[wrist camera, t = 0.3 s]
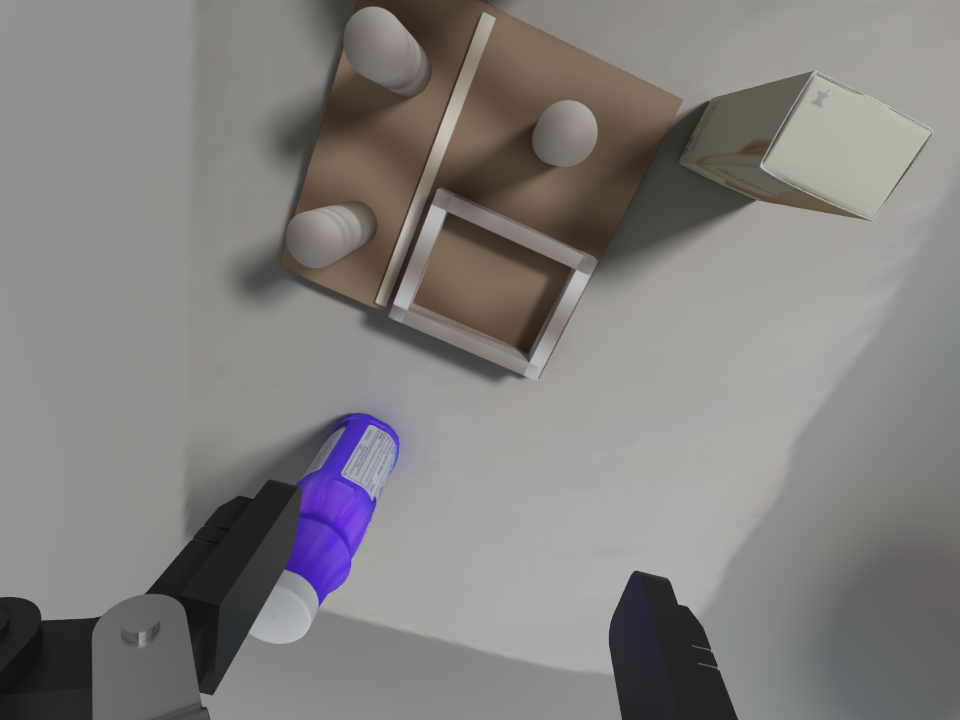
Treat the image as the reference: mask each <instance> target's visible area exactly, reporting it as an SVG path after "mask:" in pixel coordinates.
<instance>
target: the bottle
mask: <svg viewBox="0 0 960 720" xmlns="http://www.w3.org/2000/svg"><path fill="white" fill-rule="evenodd" d="M398 453H399V438H398V436H397V434H396V433H395V431H394V430H393V429H392V428H391V427H390V426H389V425H387V424H386V423H384V422H382V421H380V420H378V419H376V418H375V417H373V416H371V415H367V414H362V413H356V414H352V415H349V416H347V417H346V418H344V419H343V420H342V421H340V422H339V423H338V424H337V425H336V426H335V427H334V428H333V430H332V431H331V432H330V434H329V435H328V437H327V439H326V440H325V442H324V444H323V446H322V448H321V449H320V451H319V452H318V454H317V455H316V457H315V458H314V460H313V461H312V463H311V464H310V466H309V467H308V469H307V470H306V472H305V474H304V475H303V476H302V478H301V479H300V481H299V482H298V483H297V484H296V485H295V486H299V487H301V488H302V498H301V505H300V512H299V520H298V527H297V534H296V540H295V544H294V548H293V551H292V554H291V557H290V559H289V561H288V563H287V565H286V567H285V569H284V571H283V573H282V574H281V576H280V578H279V580H278V581H277V583H276V585H275V587H274V588H273V590H272V592H271V594H270V596H269V597H268V599H267V601H266V603H265V604H264V606H263V608H262V610H261V611H260V613H259V615H258V617H257V618H256V620H255V622H254V624H253V625H252V627H251V629H250V631H249V632H248V633H250V634H251V635H253V636H254V637H256V638H258V639H260V640H263V641H265V642H269V643H277V644H284V643H290V642H293V641H296V640H298V639H300V638H301V637H302V636H304V635H305V634H306V632H307V631H308V629H309V627H310V625H311V623H312V621H313V618H314V617H315V615H316V613H317V611H318V608H319V607H320V605H321V603H322V602H323V600H324V599H325V597H326V596H327V594H329V593H330V592H332V591H334V590H336V589H337V588H338V587H339V586H340V585H342V584H343V583H344V581H345V580H346V578H347V577H348V575H349V571H350V568H351V559H352V557H353V556H354V555H355V553H356V551H357V550H358V548H359V546H360V545H361V543H362V541H363V539H364V537H365V535H366V533H367V530H368V528H369V525H370V522H371V518H372V514H373V512H374V509H375V507H376V504H377V502H378V500H379V497H380V495H381V493H382V490H383V488H384V486H385V483H386V481H387V479H388V477H389V475H390V473H391V472H392V470H393V468H394V466H395V464H396V461H397V458H398Z"/></svg>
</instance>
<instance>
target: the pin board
mask: <svg viewBox="0 0 960 720" xmlns="http://www.w3.org/2000/svg"><path fill="white" fill-rule="evenodd" d="M343 45H344V49H343V52H342V56H341V59H340V62H339V66H338V69H337V73H336V76H335V79H334V83H333V86H332V90H331V93H330V96H329V100H328V103H327V107H326V110H325V113H324V117H323V120H322V124H321V127H320V130H319V134H318V137H317V140H316V144H315V147H314V151H313V154H312V157H311V161H310V164H309V168H308V171H307V174H306V178H305V181H304V185H303V188H302V191H301V195H300V198H299V202H298V205H297V208H296V212H295V215H294V218H293V219H292V220H291V221H290V223H289V224H288V227H287V230H286V246H285V249H284V253H283V256H282V259H281V263H280V266H279V267H280V268H283V269H285V270H287V271H290V272H292V273H294V274H297V275H299V276H301V277H304V278H306V279H308V280H311V281H313V282H315V283H317V284H320V285H322V286H324V287H327V288H329V289H331V290H334V291H336V292H338V293H341V294H343V295H345V296H348V297H350V298H352V299H355V300H357V301H359V302H362V303H364V304H366V305H369V306H371V307H373V308H376V309H378V310H380V311H383V312H385V313H387V314H389V318H391V319H394V320H396V321H398V322H401V323H403V324H405V325H408V326H410V327H412V328H415V329H417V330H419V331H421V332H424V333H426V334H428V335H431V336H433V337H435V338H438V339H440V340H442V341H445V342H447V343H449V344H452V345H454V346H456V347H459V348H461V349H463V350H466V351H468V352H470V353H473V354H475V355H477V356H480V357H482V358H484V359H487V360H489V361H491V362H494V363H496V364H498V365H501V366H503V367H505V368H508V369H510V370H512V371H514V372H517V373H519V374H521V375H524V376H526V377H528V378H531V379H533V380H535V381H537V379H539V378H540V376H541V374H542V372H543V370H544V368H545V366H546V364H547V362H548V360H549V358H550V356H551V354H552V353H553V351H554V349H555V347H556V345H557V343H558V341H559V339H560V337H561V335H562V333H563V331H564V329H565V327H566V325H567V324H568V322H569V320H570V318H571V316H572V314H573V312H574V310H575V308H576V306H577V304H578V302H579V300H580V298H581V296H582V294H583V293H584V291H585V289H586V287H587V285H588V283H589V281H590V279H591V277H592V275H593V273H594V271H595V269H596V267H597V265H598V263H599V262H600V260H601V258H602V256H603V254H604V252H605V250H606V248H607V246H608V244H609V242H610V240H611V238H612V236H613V234H614V232H615V231H616V229H617V227H618V225H619V223H620V221H621V219H622V217H623V215H624V213H625V211H626V209H627V207H628V205H629V203H630V202H631V200H632V198H633V196H634V194H635V192H636V190H637V188H638V186H639V184H640V182H641V180H642V178H643V176H644V174H645V172H646V171H647V169H648V167H649V165H650V163H651V161H652V159H653V157H654V155H655V153H656V151H657V149H658V147H659V145H660V143H661V141H662V140H663V138H664V136H665V134H666V132H667V130H668V128H669V126H670V124H671V122H672V120H673V118H674V116H675V114H676V112H677V111H678V109H679V107H680V105H681V103H682V101H683V99H681V98H679V97H677V96H675V95H673V94H671V93H668V92H666V91H664V90H662V89H660V88H658V87H656V86H654V85H652V84H650V83H648V82H646V81H644V80H642V79H640V78H638V77H636V76H634V75H632V74H630V73H627V72H625V71H623V70H621V69H619V68H617V67H615V66H613V65H611V64H609V63H607V62H605V61H603V60H601V59H599V58H597V57H595V56H593V55H591V54H589V53H586V52H584V51H582V50H580V49H578V48H576V47H574V46H572V45H570V44H568V43H566V42H564V41H562V40H560V39H558V38H556V37H554V36H552V35H550V34H547V33H545V32H543V31H541V30H539V29H537V28H535V27H533V26H531V25H529V24H527V23H525V22H523V21H521V20H519V19H517V18H515V17H513V16H511V15H509V14H506V13H504V12H502V11H500V10H498V9H496V8H494V7H492V6H490V5H488V4H486V3H484V2H482V1H480V0H358V1H357V5H356V8H355V11H354V15H353V16H352V17H351V18H350V20H349V21H348V23H347V25H346V28H345V31H344V37H343Z"/></svg>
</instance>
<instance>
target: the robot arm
mask: <svg viewBox="0 0 960 720" xmlns="http://www.w3.org/2000/svg"><path fill="white" fill-rule="evenodd" d="M301 498H302V488H301V487H299V486H295V485H291V484H287V483H283V482H279V481H275V480H268V481H267V482H266V484H265V485H264V486H263V487H262V489H261V490H260V491H259V493H258V494H257V495H256V496H255V498H254V499H251V498H247V497H243V496H238V497H236V498H234V499H233V500H231V501H229V502H227V503H226V504H224V505H222V506H220V507H219V508H218V509H217V510H216V511H215V512H214V514H213V515H212V516H211V517H210V518H209V519H208V521H207V522H206V523H205V526H204V527H202V528H201V529H200V530H199V531H198V532H197V534H196V535H195V536H194V538H193V540H192V541H190V542H189V543H188V544H187V545H186V547H185V548H184V549H183V550H182V551H181V552H180V554H179V555H178V556H177V557H176V558H175V560H174V561H173V562H172V563H171V564H170V566H169V567H168V568H167V569H166V570H165V571H164V573H163V574H162V575H161V576H160V577H159V579H158V580H157V581H156V582H155V583H154V584H153V586H152V587H151V588H150V589H149V590H148V591H147V592H146V593H145V594H144V595H139V596H135V597H132V598H129V599H127V600H124V601H122V602H120V603H118V604H117V605H115V606H114V607H112V608H111V609H109V610H108V611H107V612H106V613H105V614H104V615H103V616H101V617H96V618H88V619H67V620H46V621H41V613H40V610H39V609H38V607H37V606H36V605H35V604H34V603H33V602H31V601H29V600H26V599H22V598H16V597H2V598H0V720H210V716H209V713H208V710H207V708H206V707H202V703H201V699H200V693H205V694H209V695H213V694H214V692H215V690H216V689H217V687H218V685H219V684H220V682H221V680H222V678H223V677H224V675H225V673H226V671H227V669H228V668H229V666H230V664H231V662H232V661H233V659H234V657H235V655H236V654H237V652H238V650H239V648H240V646H241V645H242V643H243V641H244V639H245V638H246V636H247V634H248V632H249V631H250V629H251V627H252V625H253V624H254V622H255V620H256V618H257V617H258V615H259V613H260V611H261V610H262V608H263V606H264V604H265V603H266V601H267V599H268V597H269V596H270V594H271V592H272V590H273V588H274V587H275V585H276V583H277V581H278V580H279V578H280V576H281V574H282V573H283V571H284V569H285V567H286V565H287V563H288V561H289V559H290V557H291V554H292V551H293V548H294V544H295V540H296V534H297V527H298V520H299V512H300V505H301ZM609 647H610V653H611V659H612V664H613V670H614V676H615V682H616V687H617V693H618V699H619V704H620V710H621V715H622V720H738V719H737V716H736V713H735V711H734V708H733V705H732V703H731V700H730V697H729V695H728V692H727V690H726V687H725V684H724V682H723V679H722V676H721V673H720V671H719V670H717V667H718V666H717V663H716V660H715V658H714V655H713V653H711V647H710V644H709V642H708V639H707V636H706V634H705V631H704V629H703V627H702V626H701V624H700V623H699V621H698V620H697V619H696V617H695V616H694V615H693V613H692V612H691V611H690V609H689V608H688V607H686V606H682V605H678V603H677V600H676V597H675V594H674V591H673V588H672V585H671V583H670V581H669V580H668V579H667V578H664V577H660V576H656V575H652V574H648V573H644V572H640V571H634V572H633V573H632V575H631V577H630V579H629V581H628V583H627V585H626V588H625V590H624V592H623V594H622V597H621V599H620V601H619V603H618V605H617V608H616V610H615V612H614V614H613V617H612V620H611V624H610V630H609ZM199 692H200V693H199Z"/></svg>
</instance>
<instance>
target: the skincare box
mask: <svg viewBox="0 0 960 720" xmlns="http://www.w3.org/2000/svg"><path fill="white" fill-rule="evenodd" d="M933 136H934V131H933V129H932V128H931V127H928V126H926V125H924V124H922V123H921V122H919V121H917V120H915V119H913V118H911V117H909V116H907V115H905V114H903V113H901V112H899V111H897V110H895V109H893V108H891V107H889V106H887V105H886V104H884V103H882V102H880V101H878V100H876V99H874V98H872V97H869V96H867V95H865V94H863V93H861V92H859V91H857V90H855V89H853V88H851V87H849V86H847V85H845V84H842V83H840V82H838V81H836V80H835V79H832V78H830V77H828V76H826V75H824V74H822V73H820V72H818V71H812V72H808V73H805V74H801V75H797V76H793V77H790V78H786V79H782V80H778V81H775V82H771V83H767V84H764V85H760V86H756V87H753V88H749V89H745V90H741V91H738V92H734V93H730V94H727V95H722V96H719V97H715V98H712V99H711V101H710V102H709V104H708V106H707V108H706V110H705V111H704V113H703V115H702V117H701V118H700V120H699V122H698V124H697V126H696V128H695V129H694V131H693V133H692V135H691V137H690V139H689V141H688V143H687V145H686V147H685V149H684V151H683V153H682V155H681V157H680V159H679V163H680V164H681V165H683V166H685V167H686V168H688V169H690V170H692V171H694V172H696V173H698V174H700V175H702V176H704V177H706V178H708V179H710V180H712V181H714V182H716V183H718V184H720V185H722V186H725V187H727V188H729V189H732V190H734V191H736V192H739V193H741V194H743V195H746V196H748V197H750V198H753V199H755V200H758V201H763V202H769V203H775V204H781V205H787V206H792V207H797V208H803V209H809V210H814V211H820V212H825V213H831V214H836V215H841V216H847V217H853V218H858V219H864V220H869V221H872V220H874V219H875V218H876V216H877V215H878V213H879V212H880V210H881V209H882V207H883V206H884V205H885V204H886V202H887V201H888V200H889V198H890V197H891V195H892V194H893V193H894V191H895V190H896V189H897V187H898V186H899V185H900V183H901V182H902V180H903V179H904V177H905V176H906V174H907V173H908V172H909V170H910V169H911V168H912V166H913V165H914V163H915V162H916V161H917V159H918V158H919V156H920V155H921V153H922V152H923V150H924V149H925V148H926V146H927V145H928V143H929V142H930V140H931V139H932V137H933Z"/></svg>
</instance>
